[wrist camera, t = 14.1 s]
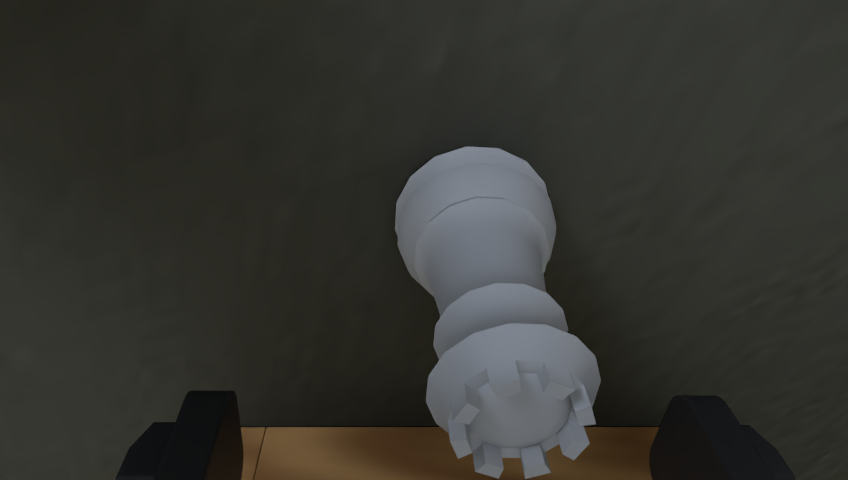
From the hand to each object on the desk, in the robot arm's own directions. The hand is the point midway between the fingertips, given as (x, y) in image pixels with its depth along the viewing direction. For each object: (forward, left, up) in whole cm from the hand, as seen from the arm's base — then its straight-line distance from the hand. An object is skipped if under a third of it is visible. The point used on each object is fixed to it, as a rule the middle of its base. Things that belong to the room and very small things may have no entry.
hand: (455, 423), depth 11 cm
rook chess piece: (+1, 0, -8) cm, 8 cm away
